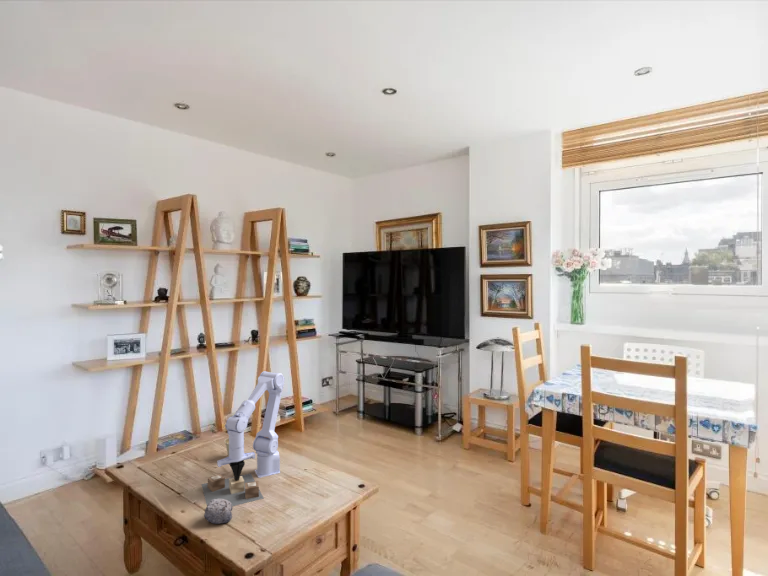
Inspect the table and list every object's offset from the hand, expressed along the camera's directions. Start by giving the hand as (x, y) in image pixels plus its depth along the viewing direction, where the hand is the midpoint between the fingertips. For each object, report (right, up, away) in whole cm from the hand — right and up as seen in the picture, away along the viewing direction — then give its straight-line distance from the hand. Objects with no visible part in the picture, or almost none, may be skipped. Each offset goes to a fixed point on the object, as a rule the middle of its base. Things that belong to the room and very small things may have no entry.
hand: (236, 479), depth 170 cm
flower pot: (-12, -4, +31) cm, 34 cm away
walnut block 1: (-9, -4, +2) cm, 10 cm away
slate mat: (-2, -5, -1) cm, 5 cm away
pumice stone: (+1, -5, -21) cm, 22 cm away
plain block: (0, -4, 0) cm, 4 cm away
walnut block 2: (+7, -4, -4) cm, 9 cm away
